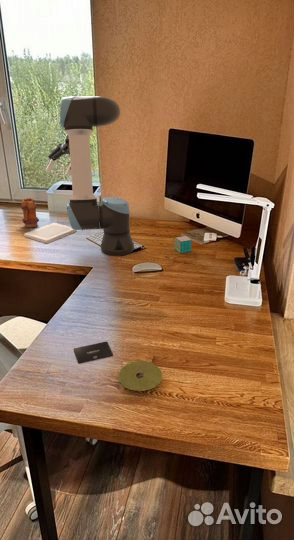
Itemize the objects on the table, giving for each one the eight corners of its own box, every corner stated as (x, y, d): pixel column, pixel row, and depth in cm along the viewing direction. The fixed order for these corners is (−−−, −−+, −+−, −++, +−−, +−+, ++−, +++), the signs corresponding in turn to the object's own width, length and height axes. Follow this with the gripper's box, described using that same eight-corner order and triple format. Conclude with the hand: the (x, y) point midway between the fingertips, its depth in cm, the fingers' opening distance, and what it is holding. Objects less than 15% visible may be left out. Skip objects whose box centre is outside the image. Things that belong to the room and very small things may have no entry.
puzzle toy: (180, 253, 177) (180, 241, 175) (174, 249, 182) (174, 237, 179) (191, 251, 179) (192, 239, 177) (185, 247, 184) (185, 235, 181)
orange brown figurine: (22, 224, 212) (18, 196, 206) (37, 222, 216) (34, 195, 209) (26, 233, 201) (22, 204, 194) (43, 230, 204) (39, 202, 197)
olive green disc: (170, 384, 102) (171, 378, 101) (134, 403, 96) (134, 397, 95) (145, 361, 110) (145, 355, 109) (110, 377, 104) (110, 371, 103)
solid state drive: (113, 356, 113) (113, 355, 112) (78, 365, 109) (78, 363, 109) (107, 343, 118) (106, 341, 118) (73, 350, 115) (73, 348, 115)
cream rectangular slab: (76, 231, 203) (76, 228, 202) (47, 243, 188) (46, 240, 187) (54, 225, 211) (54, 222, 210) (24, 236, 196) (24, 233, 196)
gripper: (96, 145, 205) (79, 180, 201) (61, 139, 217) (44, 173, 213) (89, 135, 198) (71, 172, 194) (52, 131, 210) (35, 165, 206)
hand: (57, 173), depth 203 cm, fingers open, 13 cm apart
